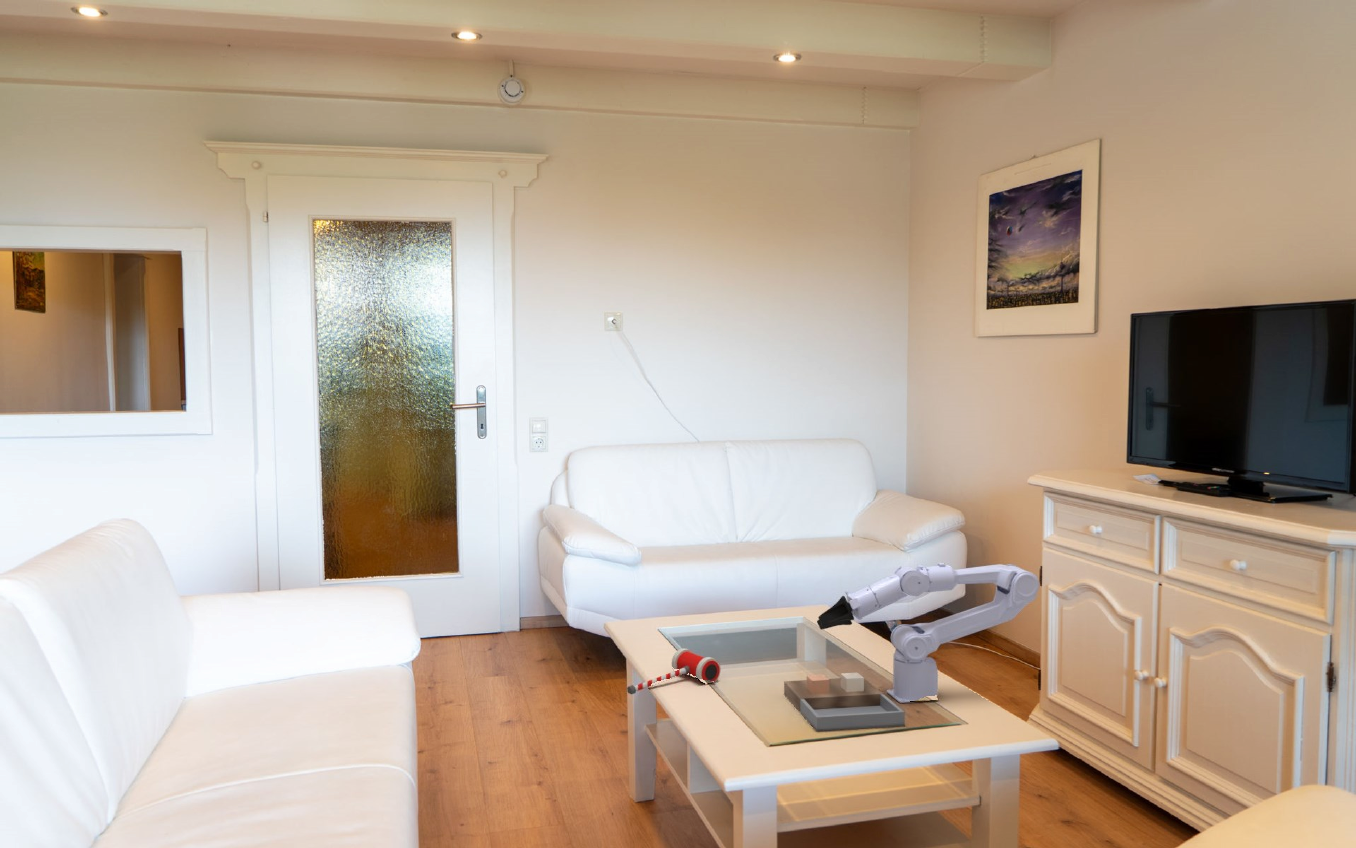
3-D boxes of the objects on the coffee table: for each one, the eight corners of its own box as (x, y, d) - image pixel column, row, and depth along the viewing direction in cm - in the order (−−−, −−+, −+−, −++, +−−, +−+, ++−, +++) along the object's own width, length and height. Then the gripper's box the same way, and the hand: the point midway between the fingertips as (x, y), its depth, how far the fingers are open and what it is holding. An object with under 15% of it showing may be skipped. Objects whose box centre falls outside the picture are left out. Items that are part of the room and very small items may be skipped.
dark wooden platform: (862, 689, 225) (862, 677, 225) (883, 707, 213) (883, 693, 213) (784, 694, 222) (784, 681, 222) (799, 712, 210) (799, 698, 210)
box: (883, 707, 213) (883, 694, 213) (904, 726, 201) (904, 712, 201) (800, 712, 210) (800, 699, 209) (816, 731, 198) (816, 717, 198)
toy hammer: (644, 702, 218) (643, 674, 218) (615, 689, 228) (615, 662, 227) (721, 682, 232) (721, 656, 232) (691, 671, 242) (691, 646, 241)
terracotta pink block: (823, 687, 217) (823, 674, 217) (829, 693, 213) (829, 679, 213) (806, 688, 217) (806, 675, 217) (812, 694, 213) (812, 680, 213)
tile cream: (857, 685, 219) (857, 672, 219) (863, 691, 215) (863, 677, 215) (840, 686, 218) (840, 673, 218) (846, 692, 214) (846, 678, 214)
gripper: (862, 586, 227) (810, 611, 226) (868, 576, 213) (812, 602, 212) (876, 614, 224) (824, 639, 224) (883, 606, 211) (827, 632, 210)
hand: (819, 623), depth 218 cm, fingers open, 7 cm apart
